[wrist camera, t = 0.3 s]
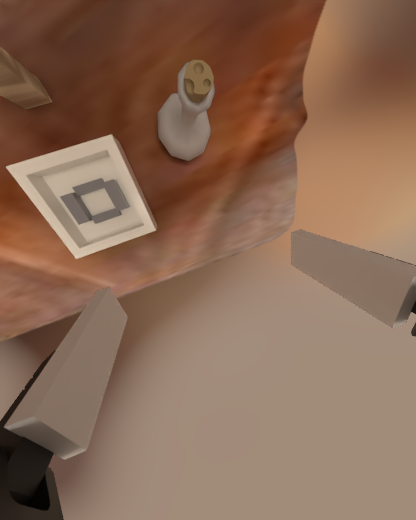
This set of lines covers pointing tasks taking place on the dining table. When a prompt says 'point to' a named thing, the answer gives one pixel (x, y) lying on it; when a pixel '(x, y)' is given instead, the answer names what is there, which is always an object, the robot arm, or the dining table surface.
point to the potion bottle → (188, 112)
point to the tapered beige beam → (20, 84)
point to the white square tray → (87, 195)
